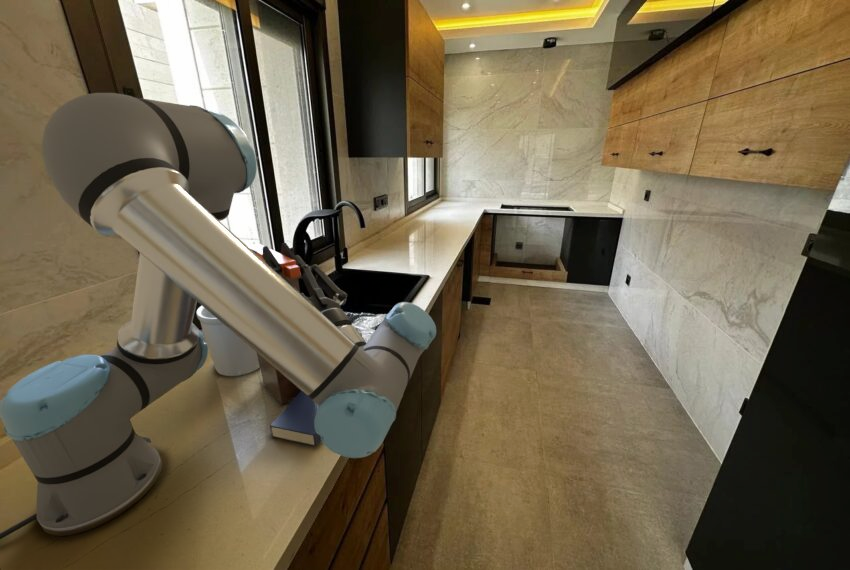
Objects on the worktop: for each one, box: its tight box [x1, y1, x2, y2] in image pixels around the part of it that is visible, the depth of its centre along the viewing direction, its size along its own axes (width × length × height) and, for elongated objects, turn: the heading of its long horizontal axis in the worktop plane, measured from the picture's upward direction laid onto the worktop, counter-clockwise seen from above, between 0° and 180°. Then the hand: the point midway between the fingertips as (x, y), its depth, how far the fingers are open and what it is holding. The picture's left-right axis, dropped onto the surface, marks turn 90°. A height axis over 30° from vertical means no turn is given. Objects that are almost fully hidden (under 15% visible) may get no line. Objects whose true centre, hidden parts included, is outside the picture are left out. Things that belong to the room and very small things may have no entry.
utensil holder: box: [195, 305, 260, 377], centre depth 88 cm, size 15×15×18 cm
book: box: [269, 390, 321, 447], centre depth 72 cm, size 14×10×3 cm
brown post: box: [257, 277, 301, 405], centre depth 76 cm, size 10×11×30 cm
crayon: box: [247, 243, 301, 279], centre depth 67 cm, size 3×20×3 cm, turn 47°
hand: (274, 249), depth 65 cm, fingers closed on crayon, 3 cm apart
